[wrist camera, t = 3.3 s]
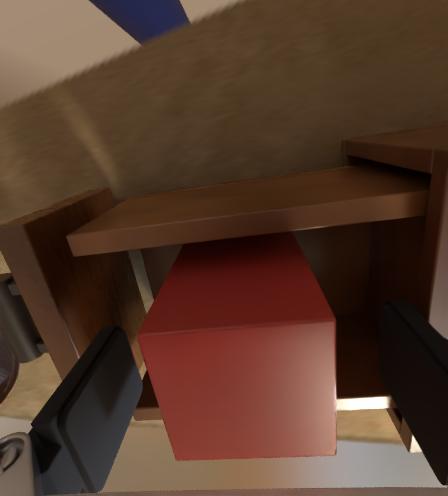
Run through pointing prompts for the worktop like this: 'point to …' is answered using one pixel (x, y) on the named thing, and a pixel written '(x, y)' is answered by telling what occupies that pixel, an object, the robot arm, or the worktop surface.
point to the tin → (7, 369)
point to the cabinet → (437, 220)
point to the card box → (243, 352)
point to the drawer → (207, 229)
